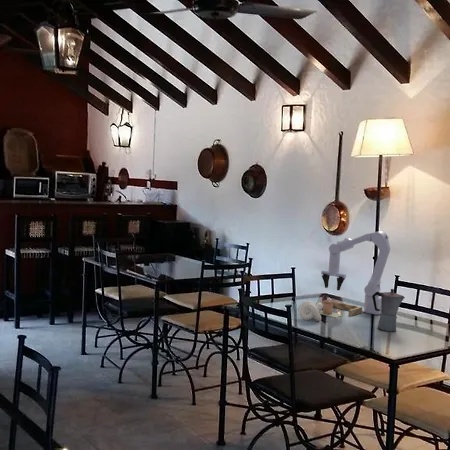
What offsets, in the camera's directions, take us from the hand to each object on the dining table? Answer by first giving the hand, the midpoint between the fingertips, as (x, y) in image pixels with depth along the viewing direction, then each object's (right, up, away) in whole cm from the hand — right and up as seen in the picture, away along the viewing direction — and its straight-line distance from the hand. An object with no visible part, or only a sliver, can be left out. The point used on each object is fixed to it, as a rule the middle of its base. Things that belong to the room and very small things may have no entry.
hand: (332, 288), depth 345 cm
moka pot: (+18, -15, -45) cm, 51 cm away
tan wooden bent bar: (+1, -11, -11) cm, 15 cm away
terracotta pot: (-6, -11, -19) cm, 23 cm away
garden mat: (-6, -11, -20) cm, 23 cm away
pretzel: (-16, -12, -35) cm, 41 cm away
